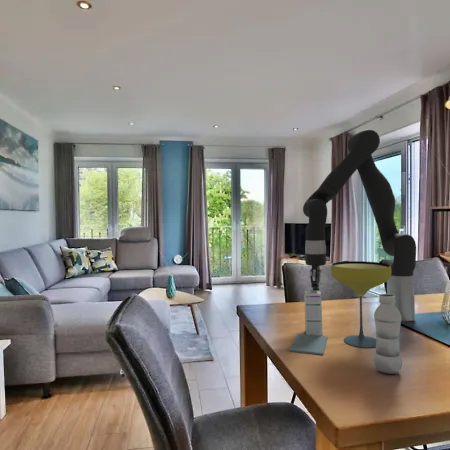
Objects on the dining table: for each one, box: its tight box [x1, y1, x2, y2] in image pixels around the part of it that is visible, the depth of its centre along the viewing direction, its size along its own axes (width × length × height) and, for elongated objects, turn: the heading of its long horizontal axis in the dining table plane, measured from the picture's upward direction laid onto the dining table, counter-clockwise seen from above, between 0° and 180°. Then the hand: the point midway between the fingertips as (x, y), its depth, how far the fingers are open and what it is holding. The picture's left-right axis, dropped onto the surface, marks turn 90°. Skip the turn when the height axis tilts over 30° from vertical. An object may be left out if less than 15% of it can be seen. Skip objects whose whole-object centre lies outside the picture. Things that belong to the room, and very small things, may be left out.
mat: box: [288, 333, 328, 356], centre depth 112 cm, size 10×15×1 cm, turn 159°
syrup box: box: [303, 289, 324, 336], centre depth 122 cm, size 6×6×14 cm
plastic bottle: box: [373, 293, 403, 375], centre depth 91 cm, size 6×7×20 cm
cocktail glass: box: [330, 260, 391, 349], centre depth 113 cm, size 18×18×25 cm
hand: (316, 297), depth 132 cm, fingers closed
